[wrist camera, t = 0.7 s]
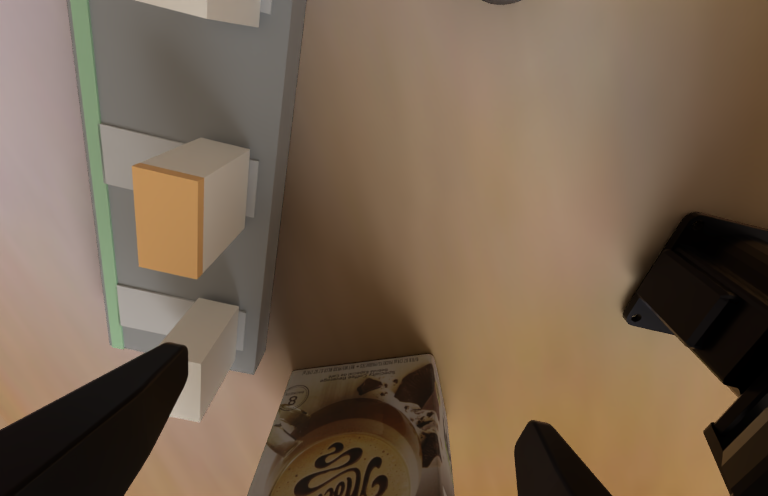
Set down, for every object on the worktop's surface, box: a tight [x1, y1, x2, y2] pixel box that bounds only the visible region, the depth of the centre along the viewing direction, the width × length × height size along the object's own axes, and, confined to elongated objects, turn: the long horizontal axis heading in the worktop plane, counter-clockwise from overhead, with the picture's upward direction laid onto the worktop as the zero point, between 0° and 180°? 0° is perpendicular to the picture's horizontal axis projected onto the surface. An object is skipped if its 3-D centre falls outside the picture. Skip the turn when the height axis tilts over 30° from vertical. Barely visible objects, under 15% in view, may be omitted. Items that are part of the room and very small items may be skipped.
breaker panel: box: [67, 0, 306, 375], centre depth 17 cm, size 8×22×2 cm, turn 167°
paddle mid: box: [132, 138, 250, 279], centre depth 14 cm, size 2×4×4 cm, turn 167°
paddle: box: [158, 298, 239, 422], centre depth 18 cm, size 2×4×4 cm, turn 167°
